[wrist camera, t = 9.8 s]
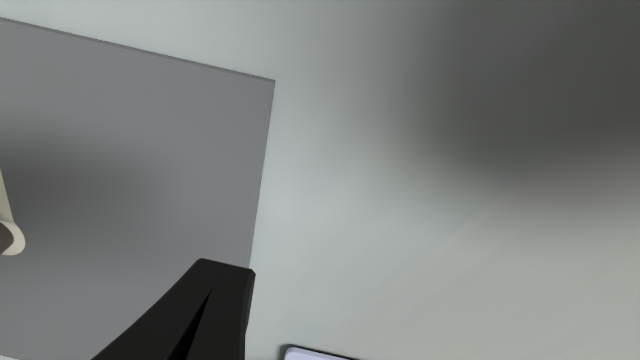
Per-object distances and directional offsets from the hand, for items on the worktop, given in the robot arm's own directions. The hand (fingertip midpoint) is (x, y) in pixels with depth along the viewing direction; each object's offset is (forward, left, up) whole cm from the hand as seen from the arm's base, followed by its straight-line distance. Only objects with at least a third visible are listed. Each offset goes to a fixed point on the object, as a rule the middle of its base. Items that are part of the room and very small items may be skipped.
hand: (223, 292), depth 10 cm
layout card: (-10, +15, -9) cm, 20 cm away
